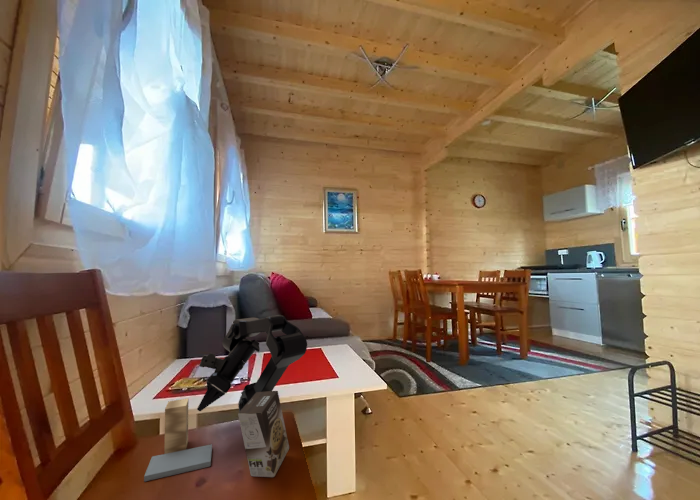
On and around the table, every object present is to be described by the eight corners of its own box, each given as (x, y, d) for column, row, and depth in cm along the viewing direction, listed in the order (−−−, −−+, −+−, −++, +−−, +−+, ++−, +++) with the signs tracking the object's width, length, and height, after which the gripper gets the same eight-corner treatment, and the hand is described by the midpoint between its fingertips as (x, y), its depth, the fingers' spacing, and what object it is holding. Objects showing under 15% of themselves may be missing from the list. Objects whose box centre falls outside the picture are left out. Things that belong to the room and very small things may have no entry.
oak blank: (188, 441, 88) (188, 398, 88) (185, 451, 83) (186, 405, 84) (167, 445, 86) (168, 401, 87) (164, 455, 81) (165, 409, 82)
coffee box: (275, 477, 72) (261, 413, 70) (250, 477, 73) (236, 413, 71) (290, 447, 80) (278, 389, 79) (268, 447, 82) (256, 390, 80)
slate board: (212, 448, 84) (212, 444, 84) (210, 466, 77) (210, 461, 77) (151, 461, 79) (152, 456, 79) (144, 481, 72) (144, 476, 72)
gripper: (217, 343, 102) (181, 387, 95) (213, 342, 85) (169, 395, 78) (245, 362, 103) (212, 407, 96) (246, 365, 86) (206, 420, 79)
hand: (200, 407), depth 87 cm, fingers open, 9 cm apart
